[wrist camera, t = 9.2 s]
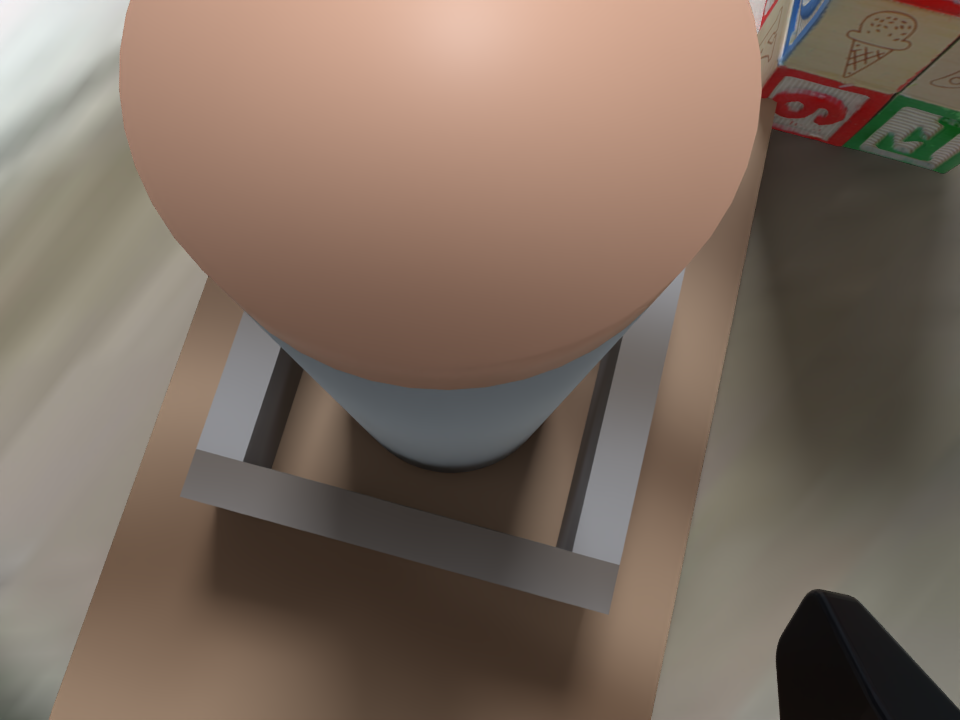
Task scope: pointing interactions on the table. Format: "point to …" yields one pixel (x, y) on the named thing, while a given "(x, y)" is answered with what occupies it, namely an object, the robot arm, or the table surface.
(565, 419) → the jig board
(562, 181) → the peach-capped cylinder
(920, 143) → the stack of blocks
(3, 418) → the table surface
